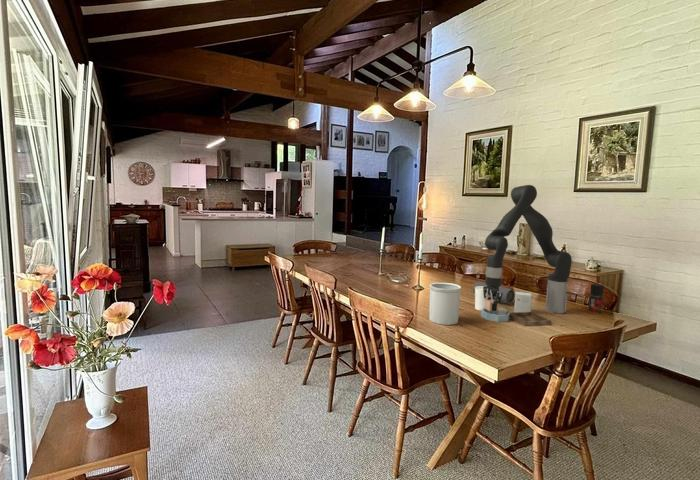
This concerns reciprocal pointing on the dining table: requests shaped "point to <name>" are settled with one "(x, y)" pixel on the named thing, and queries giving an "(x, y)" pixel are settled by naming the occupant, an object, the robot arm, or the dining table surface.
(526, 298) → the small box
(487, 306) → the tan cube
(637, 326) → the dining table surface
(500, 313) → the off-white cube
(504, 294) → the bluetooth speaker
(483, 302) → the candle holder
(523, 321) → the walnut tray
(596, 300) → the deodorant
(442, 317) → the utensil holder
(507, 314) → the ceramic bowl
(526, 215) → the robot arm
